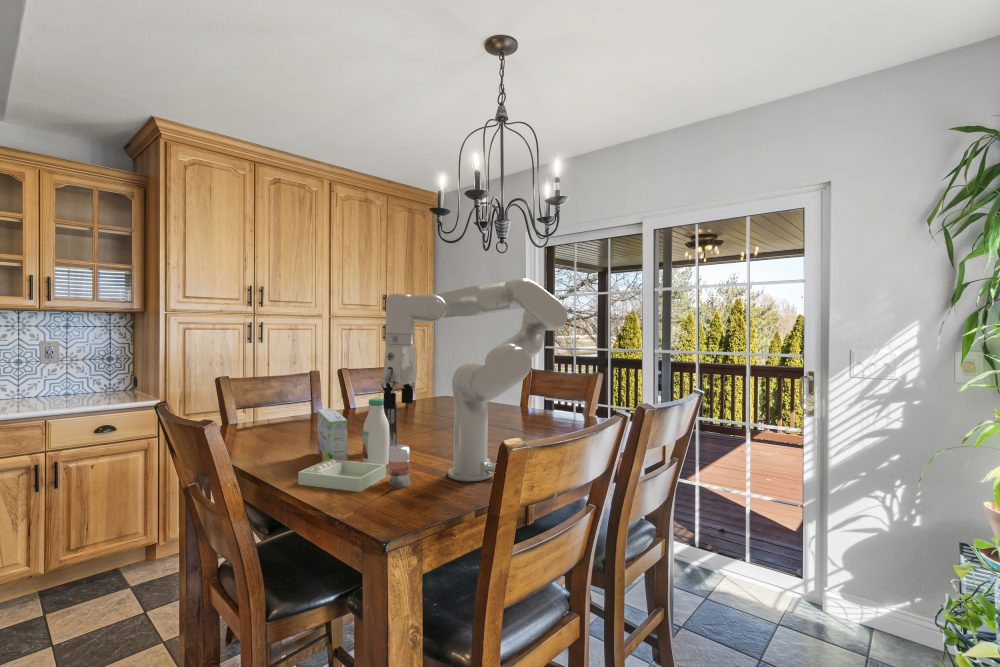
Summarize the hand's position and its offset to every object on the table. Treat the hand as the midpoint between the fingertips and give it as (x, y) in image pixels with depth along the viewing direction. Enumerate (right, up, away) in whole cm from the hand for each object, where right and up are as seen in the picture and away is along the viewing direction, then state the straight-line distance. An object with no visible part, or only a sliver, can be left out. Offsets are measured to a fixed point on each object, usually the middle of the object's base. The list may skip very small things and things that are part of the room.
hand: (398, 405), depth 130 cm
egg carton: (-20, -20, +3) cm, 29 cm away
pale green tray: (-15, -21, +1) cm, 26 cm away
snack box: (-25, -21, +20) cm, 38 cm away
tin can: (0, -21, 0) cm, 21 cm away
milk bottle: (-11, -21, +18) cm, 30 cm away
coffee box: (-12, -21, +32) cm, 40 cm away
